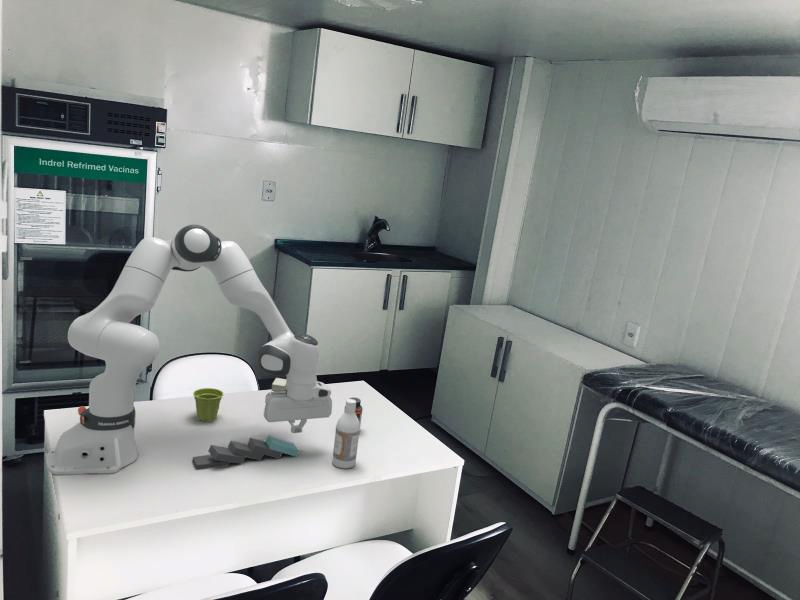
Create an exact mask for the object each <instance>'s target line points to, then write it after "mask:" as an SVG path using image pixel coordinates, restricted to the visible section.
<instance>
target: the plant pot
mask: <svg viewBox="0 0 800 600" xmlns="http://www.w3.org/2000/svg"><path fill="white" fill-rule="evenodd" d="M192 395H193V398H194V400H195V408H196V410H195V411H196V419H197V420H198V421H202V422H208V423H209V422H213V421H215V420H217V417H218V414H219V409H220V404H221V400H222V397H223V396H224V392H223V390H220V389H217V388H213V387H203V388H198V389H195V390H194V391H193V393H192Z"/></svg>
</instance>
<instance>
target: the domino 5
mask: <svg viewBox="0 0 800 600" xmlns="http://www.w3.org/2000/svg"><path fill="white" fill-rule="evenodd" d="M264 441H265V442H266V444H267V445H268V447H269V448H270V449H272V450H275V451H279V452H282V454H285V455H290V456H292V457H297V455H298V454H299V452H300V450H299V448H298V447H297V446H296V444H295V443H294V442H291V441H287V440H284V439H280V438H278V437H274V436H271V435H267V437H266V439H265V440H264Z"/></svg>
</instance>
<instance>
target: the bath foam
mask: <svg viewBox="0 0 800 600" xmlns="http://www.w3.org/2000/svg"><path fill="white" fill-rule="evenodd" d="M345 405H346V407H345V406H344V410H345V412H344V411H343V413H342V414H341V415H340V416H339V418H338V420H337V422H336V425H335V426H336V427H335V432H334V433H335V435H334V443H333V449H332V451H333V452H332V461H331V463H332V464H333V465H334V466H335V467H336V468H339V469H345V470H346V469H351V468H354V467H355V466H356V462H357V461H356V460H357V454H358V448H359V447H358V445H359V437H360V430H361V424H360V423H359V420H358V418H357V416H356V414H355V408H356V401H355V400H353V399H349V398H347V399H346V401H345Z"/></svg>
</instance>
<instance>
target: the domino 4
mask: <svg viewBox="0 0 800 600" xmlns="http://www.w3.org/2000/svg"><path fill="white" fill-rule="evenodd" d="M247 444H248V445H249V447H250V449H251V450H252V452H256V453H260V454H264V455H265V456H268V457H272V458H276V459H281V456H282V454H283V453H282V452H279V451H275V450H272V449H270V448H269V447H268V445H267V444H266V442H265V440H261V439H257V438H254V437H250V438H249V440H248V442H247ZM264 455H263V456H264Z"/></svg>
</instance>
